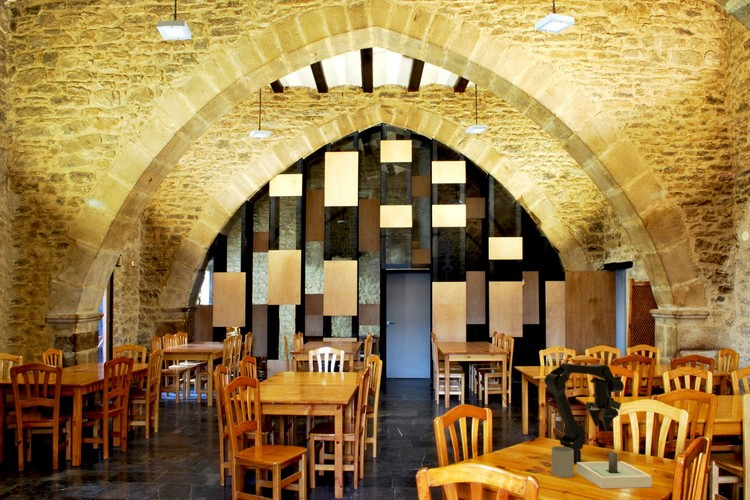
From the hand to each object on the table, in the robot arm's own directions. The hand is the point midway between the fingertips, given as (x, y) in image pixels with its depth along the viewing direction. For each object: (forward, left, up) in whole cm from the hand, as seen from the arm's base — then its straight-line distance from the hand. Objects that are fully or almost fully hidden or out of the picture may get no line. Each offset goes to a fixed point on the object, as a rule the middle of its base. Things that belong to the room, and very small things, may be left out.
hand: (601, 428), depth 264 cm
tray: (-11, -29, -13) cm, 33 cm away
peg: (-11, -29, -12) cm, 33 cm away
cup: (-28, -21, -13) cm, 37 cm away
